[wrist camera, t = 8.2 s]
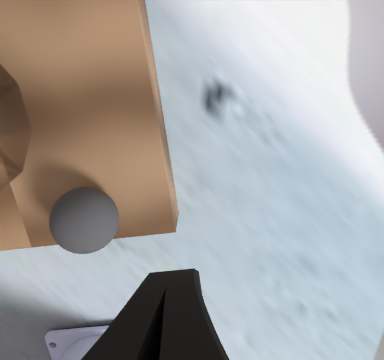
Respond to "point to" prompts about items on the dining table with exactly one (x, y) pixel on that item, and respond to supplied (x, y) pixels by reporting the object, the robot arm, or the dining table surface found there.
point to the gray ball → (84, 220)
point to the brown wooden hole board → (80, 116)
